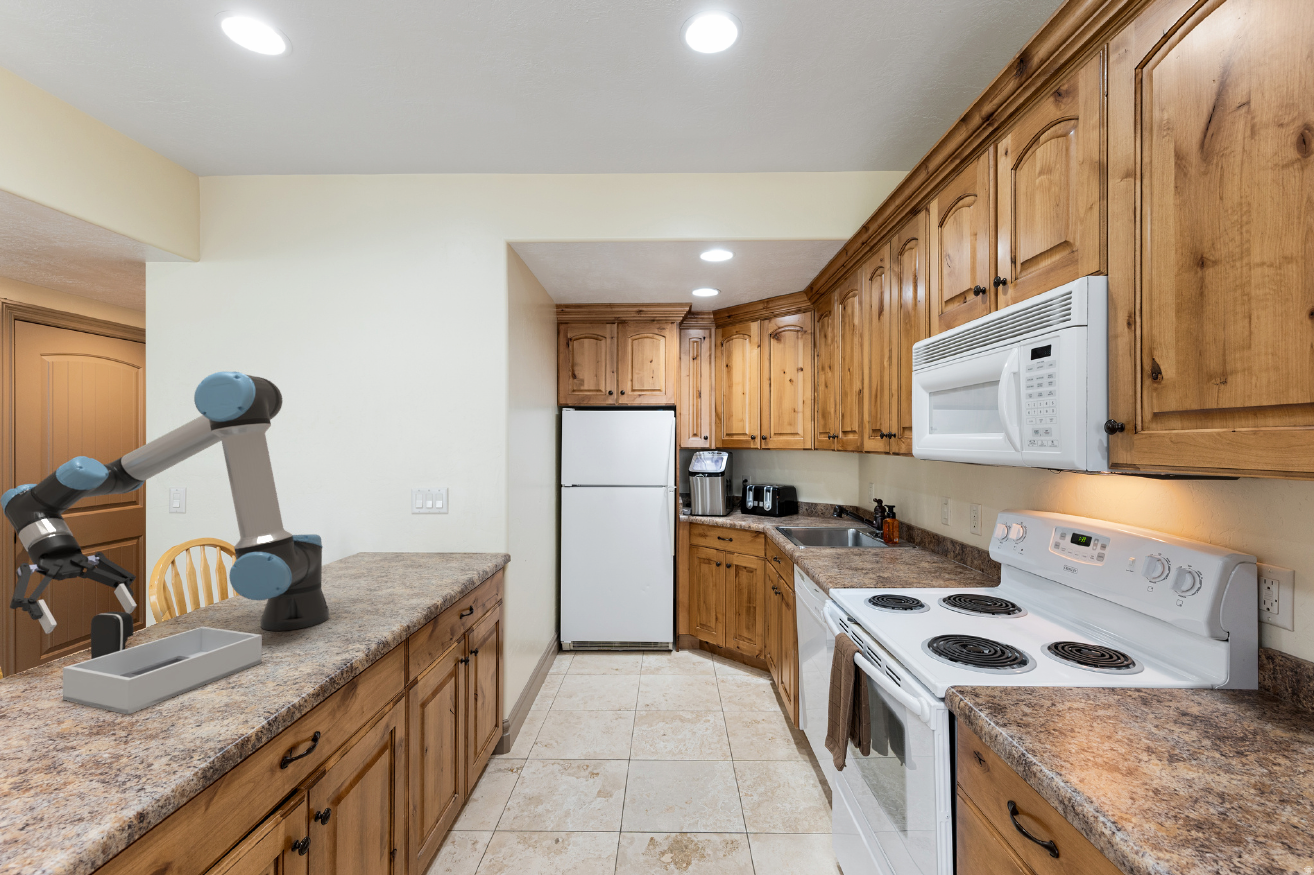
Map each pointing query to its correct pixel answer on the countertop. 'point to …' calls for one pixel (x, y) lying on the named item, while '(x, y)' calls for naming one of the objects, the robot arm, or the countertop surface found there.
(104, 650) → the battery charger
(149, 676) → the bin
